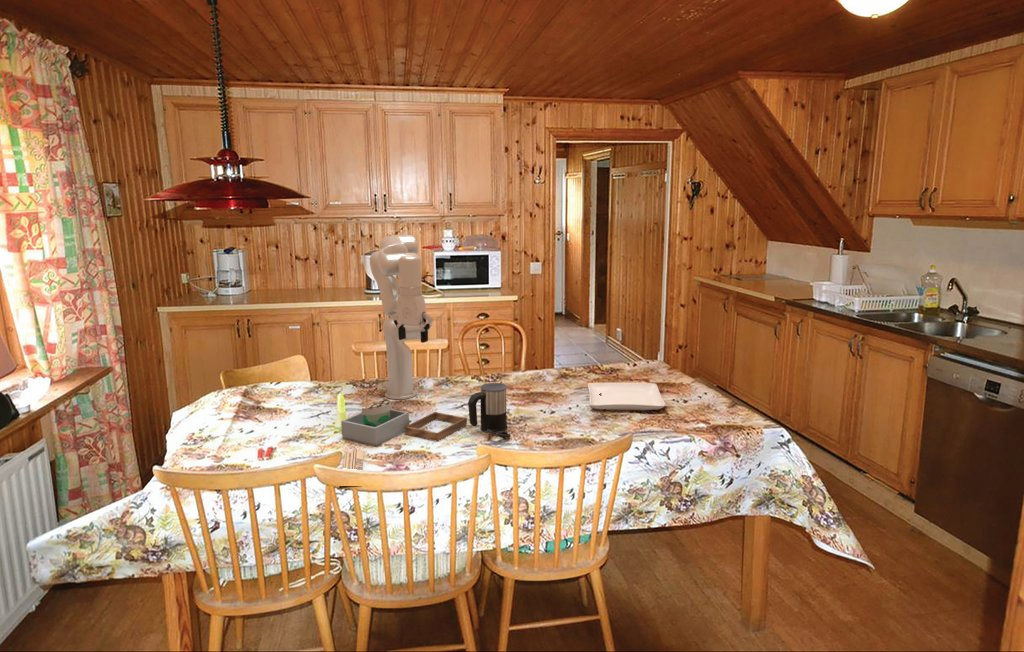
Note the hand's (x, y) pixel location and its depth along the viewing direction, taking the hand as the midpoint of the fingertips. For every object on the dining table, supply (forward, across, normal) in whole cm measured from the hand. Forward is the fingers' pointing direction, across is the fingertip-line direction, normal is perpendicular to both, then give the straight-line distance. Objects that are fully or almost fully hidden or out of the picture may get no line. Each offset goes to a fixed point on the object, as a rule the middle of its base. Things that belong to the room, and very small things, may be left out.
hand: (413, 340), depth 218 cm
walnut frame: (+28, +13, -6) cm, 32 cm away
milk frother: (+29, +32, +1) cm, 43 cm away
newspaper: (+29, +10, -42) cm, 53 cm away
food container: (+28, 0, -18) cm, 33 cm away
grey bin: (+28, -2, -18) cm, 34 cm away
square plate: (+29, +59, +51) cm, 83 cm away
